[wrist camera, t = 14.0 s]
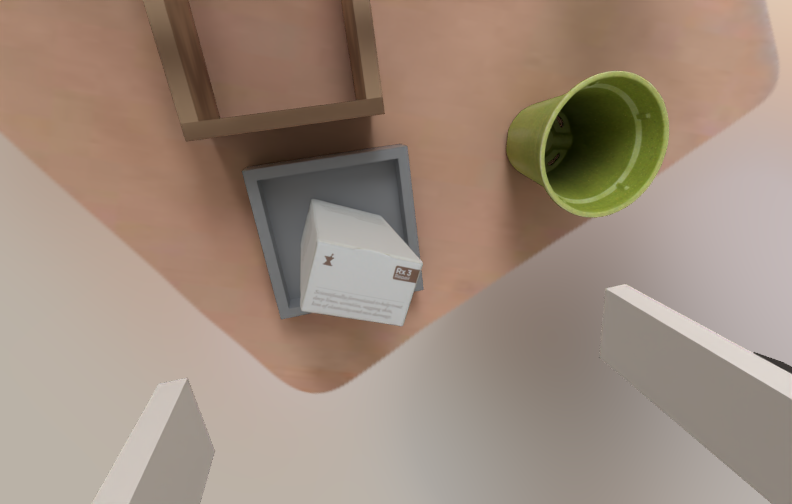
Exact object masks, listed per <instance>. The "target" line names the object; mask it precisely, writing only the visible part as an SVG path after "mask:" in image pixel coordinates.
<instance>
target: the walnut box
mask: <svg viewBox="0 0 792 504" xmlns="http://www.w3.org/2000/svg"><path fill="white" fill-rule="evenodd" d="M143 3H144V6H145V9H146V13H147V16H148V19H149V23H150V26H151V29H152V32H153V36H154V39H155V42H156V45H157V49H158V52H159V55H160V59H161V62H162V65H163V68H164V72H165V75H166V78H167V81H168V85H169V88H170V91H171V94H172V98H173V101H174V104H175V108H176V111H177V114H178V117H179V121H180V124H181V127H182V130H183V134H184V137H185V140H186V141H193V140H200V139H207V138H214V137H222V136H229V135H236V134H243V133H250V132H258V131H265V130H272V129H279V128H287V127H294V126H301V125H308V124H315V123H323V122H330V121H337V120H344V119H351V118H359V117H366V116H373V115H380V114H385V113H384V105H383V97H382V89H381V82H380V74H379V66H378V59H377V51H376V43H375V35H374V28H373V20H372V12H371V5H370V0H341V4H342V10H343V17H344V24H345V30H346V37H347V43H348V50H349V56H350V63H351V70H352V76H353V83H354V89H355V96H356V101H349V102H341V103H334V104H326V105H319V106H311V107H303V108H296V109H288V110H281V111H273V112H266V113H258V114H250V115H243V116H235V117H228V118H220V116H219V112H218V109H217V105H216V101H215V98H214V94H213V90H212V86H211V83H210V79H209V75H208V72H207V68H206V64H205V61H204V57H203V53H202V50H201V46H200V42H199V38H198V35H197V31H196V27H195V24H194V20H193V16H192V13H191V9H190V5H189V1H188V0H143Z"/></svg>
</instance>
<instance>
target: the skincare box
mask: <svg viewBox="0 0 792 504" xmlns="http://www.w3.org/2000/svg"><path fill="white" fill-rule="evenodd" d="M300 245H301V265H300V267H301V273H300V292H301V297H300V308H301V310H302V311H304V312H310V313H317V314H324V315H331V316H337V317H344V318H351V319H358V320H364V321H371V322H377V323H384V324H390V325H397V326H403V325H404V321H405V318H406V315H407V312H408V309H409V306H410V302H411V299H412V296H413V293H414V290H415V287H416V284H417V281H418V278H419V275H420V272H421V269H422V266H423V262H422V261H421V260H420V259H419V258H418V257H417V256H416V254H415V253H414V252H413V251H412V250H411V249H410V248H409V246H408V245H407V244H406V243H405V242H404V241H403V240H402V239H401V238H400V236H399V235H398V234H397V233H396V232H395V231H394V230H393V229H392V227H391V226H390V225H389V224H388V223H387V222H386V221H385V220H384V218H383V217H382V216H380V215H377V214H372V213H368V212H365V211H361V210H357V209H353V208H349V207H345V206H341V205H337V204H333V203H329V202H325V201H321V200H317V199H311V202H310V206H309V210H308V214H307V218H306V222H305V226H304V230H303V235H302V239H301V244H300Z"/></svg>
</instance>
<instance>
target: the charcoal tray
mask: <svg viewBox="0 0 792 504" xmlns="http://www.w3.org/2000/svg"><path fill="white" fill-rule="evenodd" d="M242 173H243V177H244V181H245V185H246V188H247V192H248V196H249V200H250V204H251V207H252V211H253V215H254V219H255V223H256V226H257V230H258V234H259V238H260V242H261V245H262V249H263V253H264V257H265V260H266V264H267V268H268V272H269V276H270V279H271V283H272V287H273V291H274V295H275V298H276V302H277V306H278V310H279V314H280V317H281V319H286V318H291V317H295V316H300V315H305V314H310V312H304V311H302V310H301V308H300V297H301V292H300V273H301V267H300V265H301V245H300V244H301V239H302V235H303V230H304V226H305V222H306V218H307V214H308V210H309V206H310V202H311V199H317V200H321V201H325V202H329V203H333V204H337V205H341V206H345V207H349V208H353V209H357V210H361V211H365V212H368V213H372V214H377V215H380V216H382V217H383V218H384V220H385V221H386V222H387V223H388V224H389V225H390V226H391V227H392V229H393V230H394V231H395V232H396V233H397V234H398V235H399V236H400V238H401V239H402V240H403V241H404V242H405V243H406V244H407V245H408V246H409V248H410V249H411V250H412V251H413V252H414V253H415V254H416V256H417V257H418V258H419V259H420V254H419V245H418V236H417V227H416V218H415V210H414V201H413V192H412V183H411V174H410V166H409V157H408V148H407V146H406V145H403V144H395V145H389V146H382V147H376V148H369V149H362V150H356V151H349V152H342V153H336V154H329V155H323V156H316V157H309V158H303V159H296V160H289V161H283V162H276V163H270V164H263V165H256V166H250V167H247V168H245V169H244V170H243V171H242ZM420 290H424V289H423V280H422V271H421V272H420V275H419V278H418V281H417V284H416V287H415V290H414V292H415V291H420Z"/></svg>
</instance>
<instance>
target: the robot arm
mask: <svg viewBox="0 0 792 504" xmlns="http://www.w3.org/2000/svg"><path fill="white" fill-rule="evenodd" d="M599 358H600V359H601V360H603V361H604V362H605V363H606V364H607V365H608V366H610V367H611V368H612V369H613V370H614V371H616V372H617V373H618V374H619V375H620V376H622V377H623V378H624V379H625V380H626V381H627V382H629V383H630V384H631V385H632V386H633V387H635V388H636V389H637V390H638V391H639V392H640V393H642V394H643V395H644V396H645V397H646V398H647V399H649V400H650V401H651V402H652V403H653V404H655V405H656V406H657V407H658V408H660V410H662V411H663V412H664V413H665V414H666V415H668V416H669V417H670V418H671V419H672V420H674V421H675V422H676V423H677V424H678V425H679V426H681V427H682V428H683V429H684V430H685V431H687V432H688V433H689V434H690V435H691V436H692V437H694V438H695V439H696V440H697V441H698V442H699V443H701V444H702V445H703V446H704V447H705V448H707V449H708V450H709V451H710V452H711V453H712V454H714V455H715V456H716V457H717V458H718V459H719V460H721V461H722V462H723V463H724V464H725V465H727V466H728V467H729V468H730V469H731V470H732V471H734V472H735V473H736V474H737V475H738V476H740V477H741V478H742V479H743V480H744V481H746V482H747V483H748V484H749V485H750V486H751V487H753V488H754V489H755V490H756V491H757V492H758V493H760V494H761V495H762V496H763V497H764V498H766V499H767V500H768V501H769V502H770V503H771V504H792V367H791V366H789V365H787V364H785V363H783V362H781V361H778V360H775V359H772V358H769V357H766V356H764V355H761V354H758V353H755V352H754V353H752V352H750V351H748V350H746V349H745V348H743V347H741V346H739V345H737V344H735V343H734V342H732V341H730V340H728V339H726V338H724V337H722V336H720V335H718V334H717V333H715V332H713V331H711V330H709V329H708V328H706V327H704V326H702V325H700V324H698V323H696V322H695V321H693V320H691V319H689V318H687V317H686V316H684V315H682V314H680V313H678V312H676V311H674V310H673V309H671V308H669V307H667V306H665V305H663V304H662V303H659V302H658V301H656V300H654V299H652V298H650V297H649V296H647V295H645V294H643V293H641V292H639V291H638V290H635V289H634V288H632V287H630V286H628V285H626V284H624V285H619V286H615V287H610V288H606V289H605V298H604V310H603V321H602V332H601V344H600V355H599ZM214 452H215V450H214V447H213V445H212V442H211V439H210V437H209V434H208V431H207V428H206V426H205V424H204V420H203V418H202V415H201V412H200V410H199V407H198V404H197V402H196V399H195V396H194V394H193V391H192V389H191V385H190V383H189V380H188V378H184V379H179V380H174V381H169V382H165V383H160V384H158V386H157V387H156V389H155V391H154V393H153V395H152V396H151V398H150V400H149V402H148V403H147V405H146V407H145V409H144V411H143V412H142V414H141V416H140V418H139V419H138V421H137V423H136V425H135V427H134V428H133V430H132V432H131V434H130V436H129V437H128V439H127V441H126V443H125V444H124V446H123V448H122V450H121V451H120V453H119V455H118V457H117V459H116V461H115V462H114V464H113V466H112V468H111V469H110V471H109V473H108V475H107V476H106V478H105V480H104V482H103V484H102V485H101V487H100V489H99V491H98V492H97V495H96V496H95V498H94V500H93V501H92V503H91V504H200V502H201V499H202V495H203V491H204V488H205V484H206V481H207V477H208V474H209V470H210V466H211V463H212V460H213V456H214Z"/></svg>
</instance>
